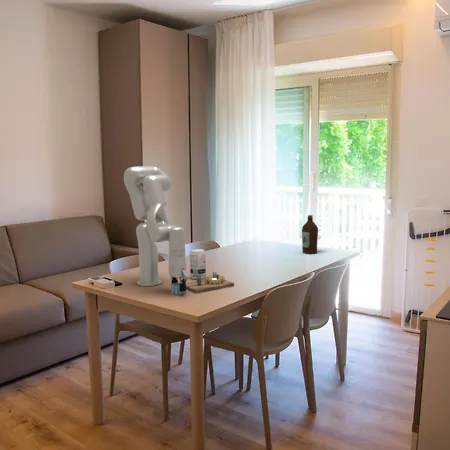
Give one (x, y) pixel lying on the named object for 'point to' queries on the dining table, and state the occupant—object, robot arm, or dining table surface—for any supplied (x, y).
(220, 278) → the brass drive gear
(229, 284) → the gear board
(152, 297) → the dining table surface
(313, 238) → the olive oil
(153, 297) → the dining table surface
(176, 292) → the blue gear
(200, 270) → the supplement can
